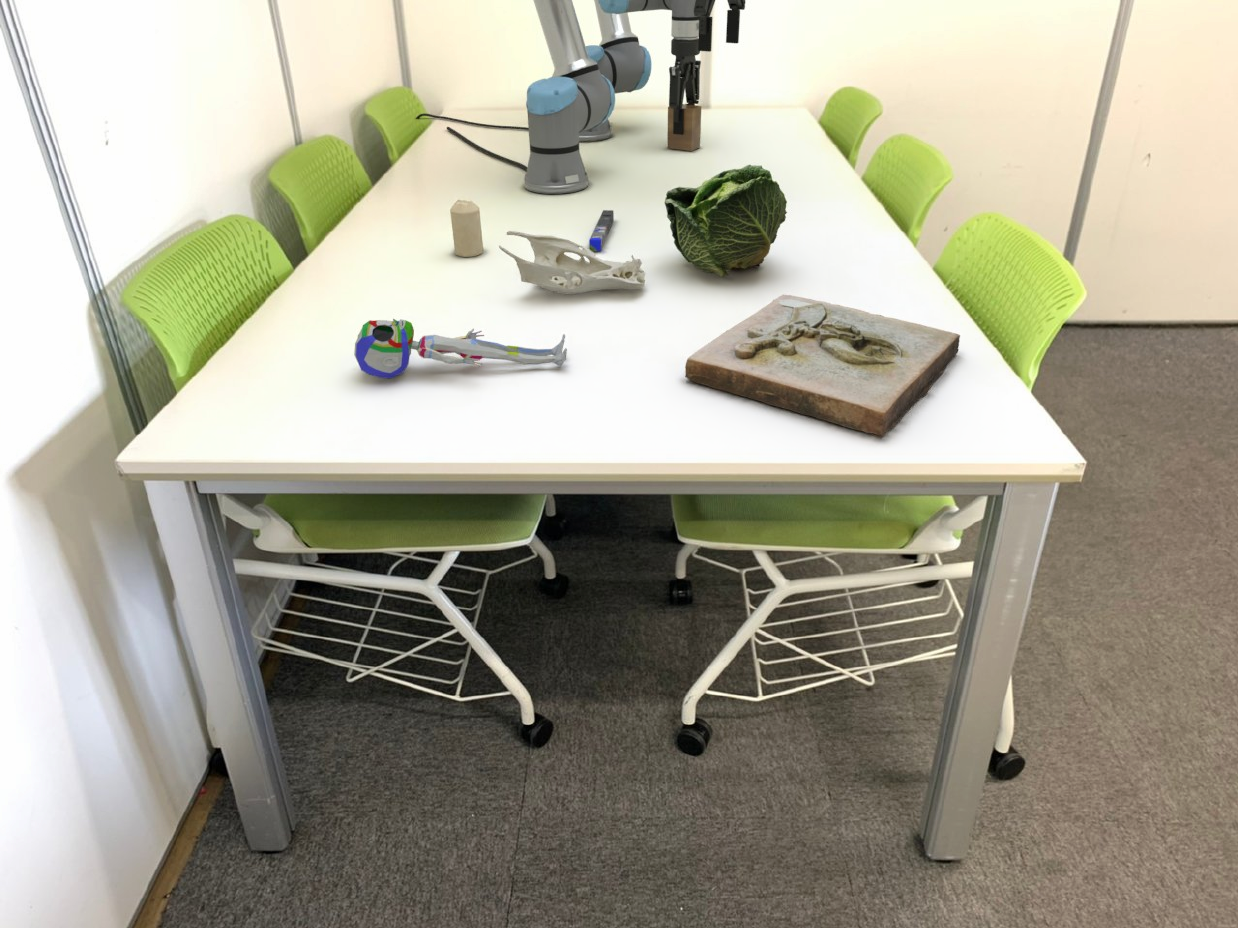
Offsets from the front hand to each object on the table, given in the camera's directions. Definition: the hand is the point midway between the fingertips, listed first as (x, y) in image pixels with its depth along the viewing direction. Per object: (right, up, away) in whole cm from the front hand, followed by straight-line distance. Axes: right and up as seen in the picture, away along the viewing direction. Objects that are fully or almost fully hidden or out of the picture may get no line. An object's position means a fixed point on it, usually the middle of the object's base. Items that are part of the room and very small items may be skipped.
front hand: (718, 47), depth 194 cm
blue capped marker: (-25, -44, -11) cm, 52 cm away
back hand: (-4, 0, +49) cm, 49 cm away
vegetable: (-2, -54, -28) cm, 61 cm away
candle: (-51, -49, -19) cm, 73 cm away
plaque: (+8, -76, -63) cm, 99 cm away
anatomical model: (-29, -59, -35) cm, 75 cm away
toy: (-44, -76, -62) cm, 108 cm away
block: (-4, -4, +51) cm, 52 cm away
